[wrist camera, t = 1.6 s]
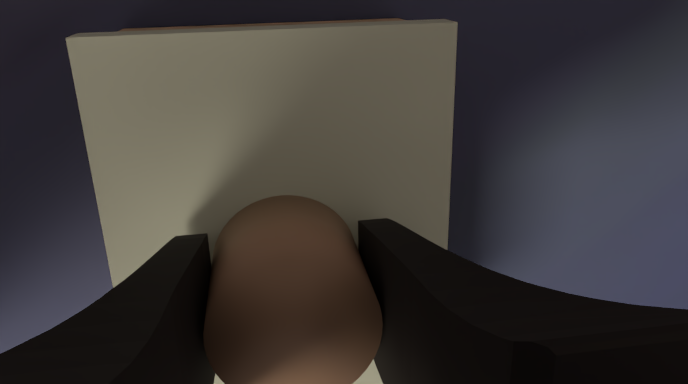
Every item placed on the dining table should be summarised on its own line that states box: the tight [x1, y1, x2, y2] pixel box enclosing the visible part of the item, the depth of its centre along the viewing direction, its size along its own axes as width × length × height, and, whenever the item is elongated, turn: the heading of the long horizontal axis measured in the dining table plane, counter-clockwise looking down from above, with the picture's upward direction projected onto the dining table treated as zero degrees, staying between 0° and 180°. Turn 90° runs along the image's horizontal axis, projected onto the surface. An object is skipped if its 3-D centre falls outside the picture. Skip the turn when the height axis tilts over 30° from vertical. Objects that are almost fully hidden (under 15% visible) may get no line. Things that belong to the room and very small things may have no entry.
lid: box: [66, 19, 458, 384], centre depth 12 cm, size 9×7×4 cm
